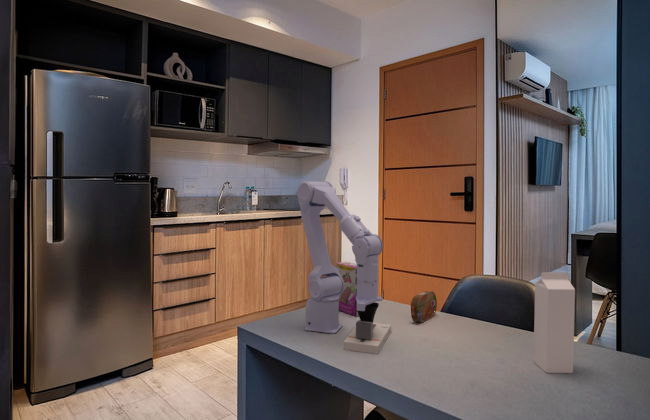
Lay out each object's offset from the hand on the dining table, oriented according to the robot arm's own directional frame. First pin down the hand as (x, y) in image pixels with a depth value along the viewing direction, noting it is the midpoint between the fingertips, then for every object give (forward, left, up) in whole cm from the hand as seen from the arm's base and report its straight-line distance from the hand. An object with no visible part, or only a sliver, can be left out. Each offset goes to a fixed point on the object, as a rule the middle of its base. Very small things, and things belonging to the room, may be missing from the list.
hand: (366, 330), depth 109 cm
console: (0, +2, -3) cm, 4 cm away
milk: (+44, -1, -3) cm, 44 cm away
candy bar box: (-12, +26, -3) cm, 29 cm away
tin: (+12, +27, -3) cm, 30 cm away
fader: (0, -3, -1) cm, 3 cm away
